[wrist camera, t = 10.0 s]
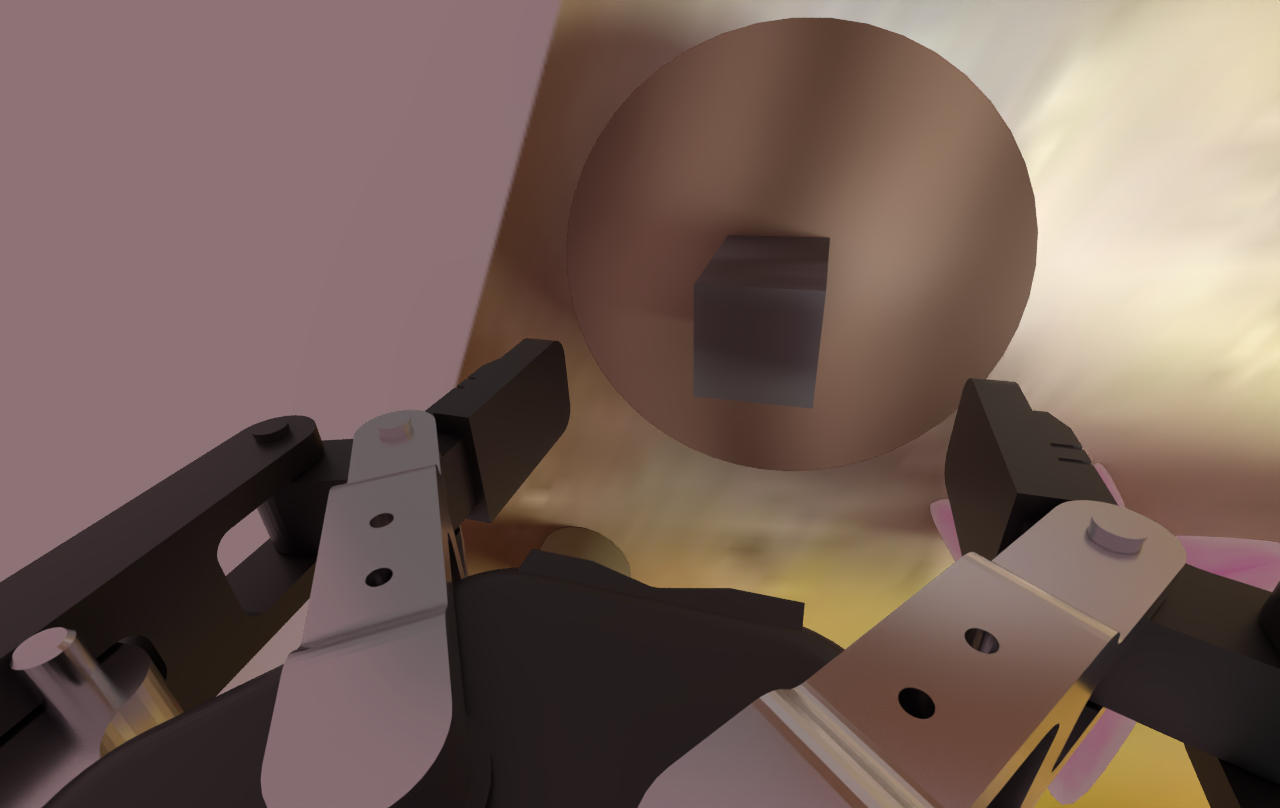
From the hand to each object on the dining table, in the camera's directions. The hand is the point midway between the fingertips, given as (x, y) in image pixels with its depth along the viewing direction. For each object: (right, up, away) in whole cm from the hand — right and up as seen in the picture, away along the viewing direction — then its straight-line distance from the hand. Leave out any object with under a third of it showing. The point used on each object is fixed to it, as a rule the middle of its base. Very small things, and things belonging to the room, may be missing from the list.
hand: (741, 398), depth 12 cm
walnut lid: (+2, +4, +7) cm, 9 cm away
